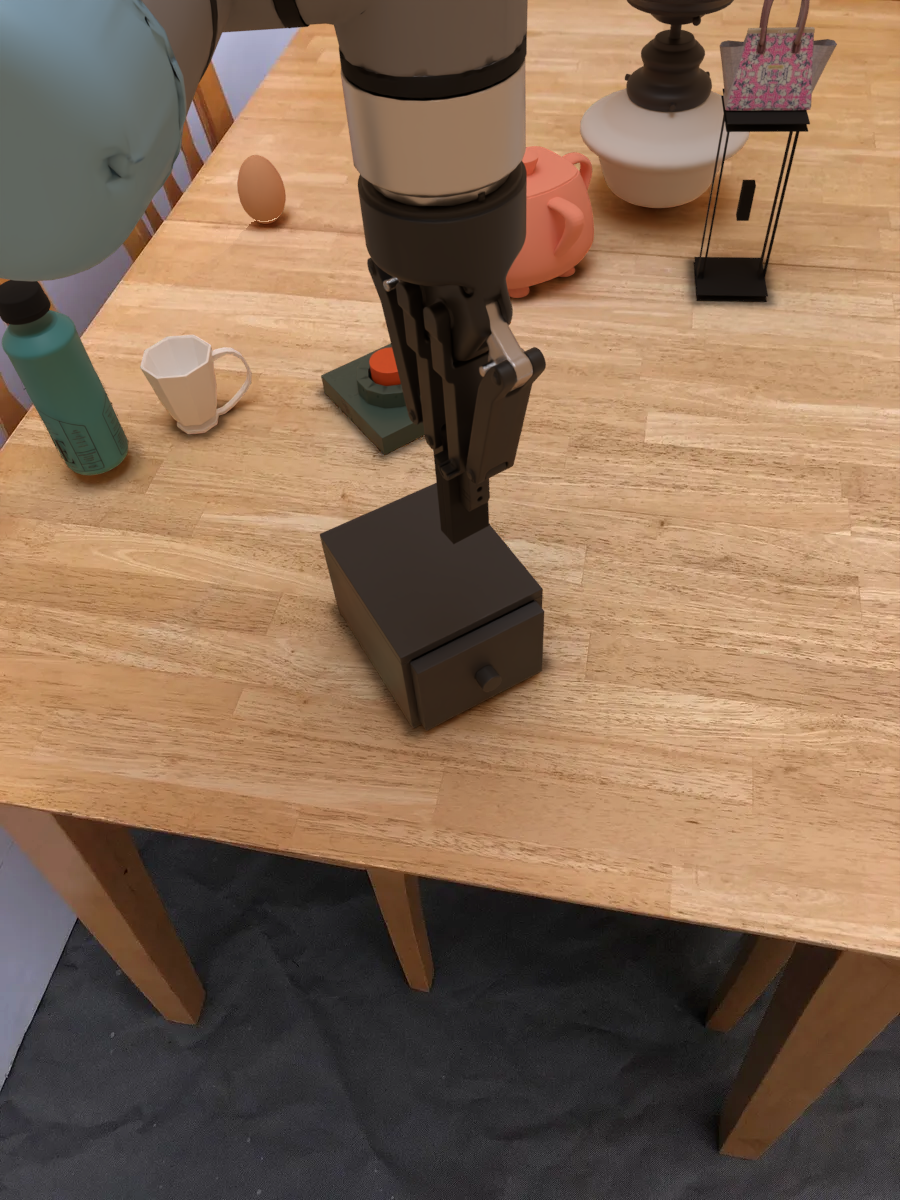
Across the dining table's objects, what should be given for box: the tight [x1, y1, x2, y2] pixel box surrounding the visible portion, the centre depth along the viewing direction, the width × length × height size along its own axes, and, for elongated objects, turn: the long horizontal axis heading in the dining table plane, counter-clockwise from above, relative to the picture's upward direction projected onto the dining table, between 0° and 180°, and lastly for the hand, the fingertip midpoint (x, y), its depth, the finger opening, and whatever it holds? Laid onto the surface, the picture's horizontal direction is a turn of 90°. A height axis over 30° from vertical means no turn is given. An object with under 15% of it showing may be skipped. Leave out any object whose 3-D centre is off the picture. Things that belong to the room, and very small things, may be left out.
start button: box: [369, 347, 401, 386], centre depth 91 cm, size 4×4×2 cm
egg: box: [236, 154, 287, 225], centre depth 114 cm, size 6×6×8 cm
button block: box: [320, 343, 424, 455], centre depth 93 cm, size 12×10×4 cm
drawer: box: [410, 601, 545, 732], centre depth 71 cm, size 14×10×8 cm
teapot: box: [506, 145, 595, 299], centre depth 103 cm, size 16×17×14 cm
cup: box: [139, 334, 253, 435], centre depth 92 cm, size 7×10×8 cm
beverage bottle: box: [0, 280, 129, 476], centre depth 83 cm, size 6×7×20 cm
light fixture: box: [579, 0, 751, 209], centre depth 105 cm, size 20×20×25 cm
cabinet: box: [319, 482, 544, 729], centre depth 72 cm, size 14×12×10 cm
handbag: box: [693, 0, 838, 303], centre depth 92 cm, size 10×8×30 cm
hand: (465, 527), depth 59 cm, fingers closed
